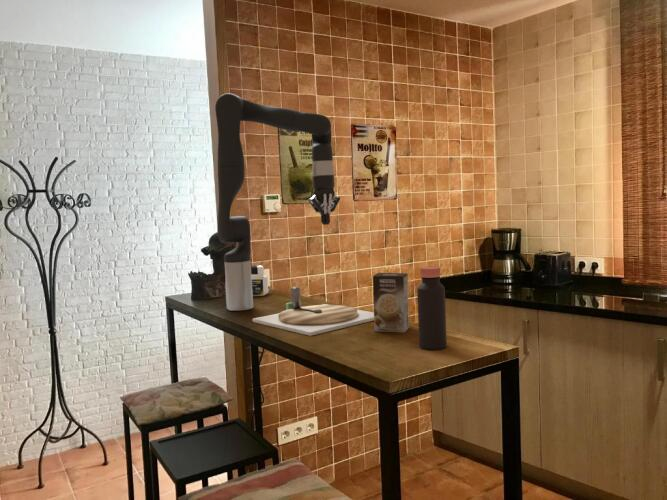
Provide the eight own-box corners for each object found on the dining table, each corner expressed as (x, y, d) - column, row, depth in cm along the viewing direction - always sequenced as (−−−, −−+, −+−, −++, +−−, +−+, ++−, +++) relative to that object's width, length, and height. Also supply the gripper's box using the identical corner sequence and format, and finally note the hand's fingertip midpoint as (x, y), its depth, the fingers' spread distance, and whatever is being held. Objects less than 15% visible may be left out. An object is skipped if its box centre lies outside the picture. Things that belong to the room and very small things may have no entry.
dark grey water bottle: (428, 351, 142) (425, 270, 141) (414, 345, 149) (411, 267, 147) (452, 347, 145) (449, 267, 143) (436, 342, 151) (434, 265, 149)
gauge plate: (252, 321, 188) (251, 309, 187) (324, 306, 207) (324, 295, 207) (310, 335, 165) (309, 321, 164) (385, 317, 184) (384, 305, 184)
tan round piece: (373, 313, 185) (372, 288, 184) (312, 328, 168) (311, 300, 167) (322, 305, 203) (321, 282, 203) (262, 317, 187) (261, 292, 186)
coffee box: (373, 331, 166) (371, 275, 164) (379, 326, 172) (376, 272, 170) (405, 332, 163) (403, 275, 161) (410, 327, 169) (408, 272, 167)
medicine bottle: (246, 296, 238) (244, 266, 237) (252, 293, 245) (250, 264, 244) (263, 295, 237) (261, 266, 236) (268, 292, 244) (266, 264, 243)
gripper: (330, 174, 210) (333, 223, 212) (301, 175, 201) (304, 225, 203) (344, 173, 204) (347, 223, 206) (315, 174, 196) (317, 226, 197)
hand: (325, 224), depth 204 cm, fingers closed
